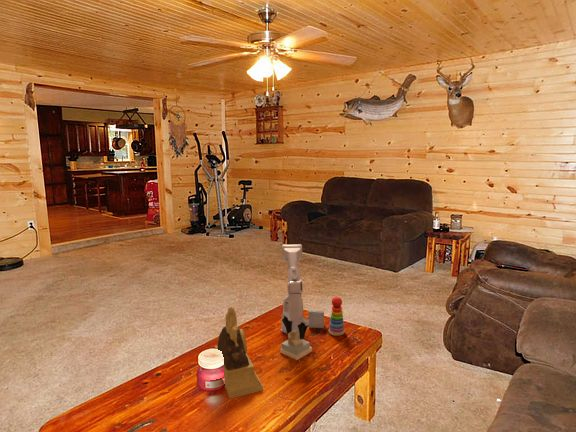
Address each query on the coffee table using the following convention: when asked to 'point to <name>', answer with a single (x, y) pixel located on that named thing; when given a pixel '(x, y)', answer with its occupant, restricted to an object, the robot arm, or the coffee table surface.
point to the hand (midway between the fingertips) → (295, 335)
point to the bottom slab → (296, 355)
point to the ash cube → (294, 338)
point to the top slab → (295, 347)
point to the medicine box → (316, 318)
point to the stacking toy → (336, 318)
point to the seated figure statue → (236, 359)
